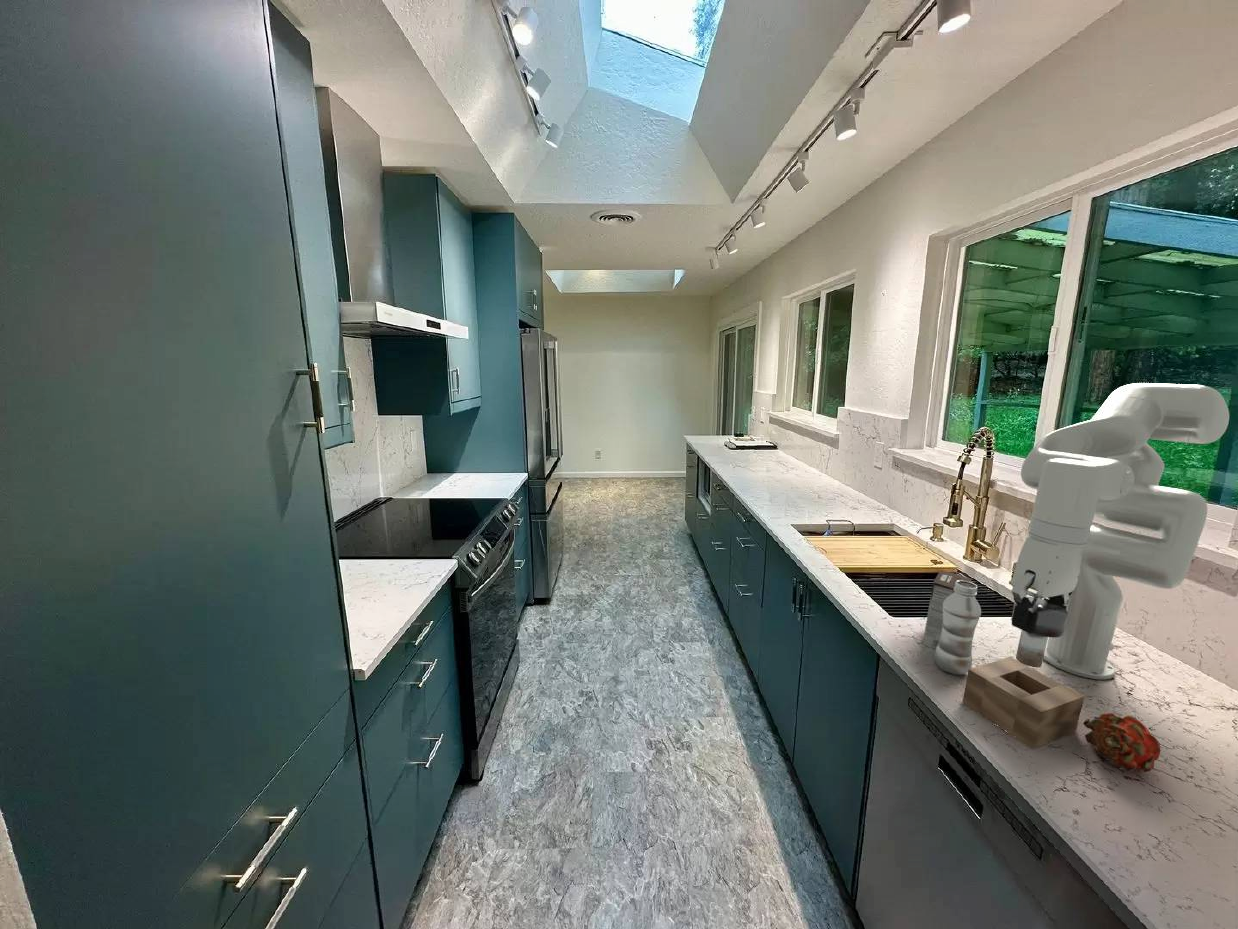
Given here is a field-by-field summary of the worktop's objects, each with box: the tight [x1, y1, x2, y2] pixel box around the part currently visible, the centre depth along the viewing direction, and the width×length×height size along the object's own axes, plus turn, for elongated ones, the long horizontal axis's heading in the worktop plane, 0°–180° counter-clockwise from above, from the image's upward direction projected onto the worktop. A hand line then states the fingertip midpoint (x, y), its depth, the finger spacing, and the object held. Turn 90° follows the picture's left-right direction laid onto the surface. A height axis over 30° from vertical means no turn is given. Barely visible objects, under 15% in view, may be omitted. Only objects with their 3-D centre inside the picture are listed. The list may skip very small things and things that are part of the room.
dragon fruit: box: [1082, 712, 1162, 773], centre depth 78 cm, size 8×8×12 cm
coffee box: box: [922, 570, 973, 650], centre depth 110 cm, size 9×6×16 cm
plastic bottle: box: [933, 580, 982, 676], centre depth 100 cm, size 6×7×20 cm
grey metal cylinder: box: [1011, 596, 1068, 669], centre depth 84 cm, size 7×7×11 cm
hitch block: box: [961, 656, 1085, 750], centre depth 88 cm, size 12×12×7 cm
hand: (1036, 625), depth 84 cm, fingers closed on grey metal cylinder, 7 cm apart
